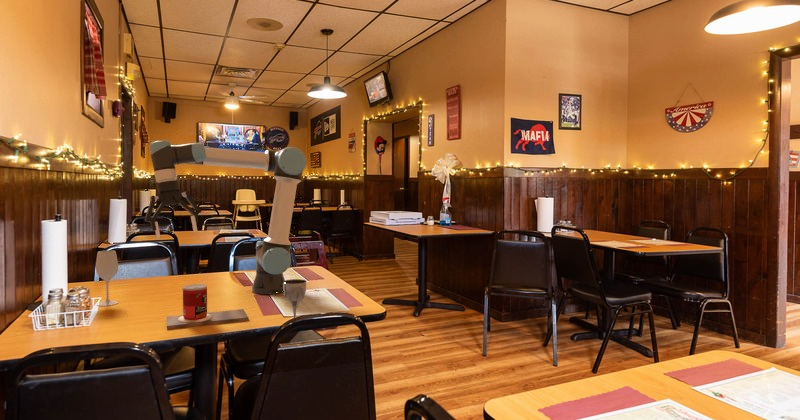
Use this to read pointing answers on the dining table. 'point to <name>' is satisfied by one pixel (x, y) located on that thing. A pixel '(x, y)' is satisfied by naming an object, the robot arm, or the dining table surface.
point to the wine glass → (294, 292)
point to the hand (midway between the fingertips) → (177, 235)
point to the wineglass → (107, 271)
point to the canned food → (194, 301)
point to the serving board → (207, 319)
